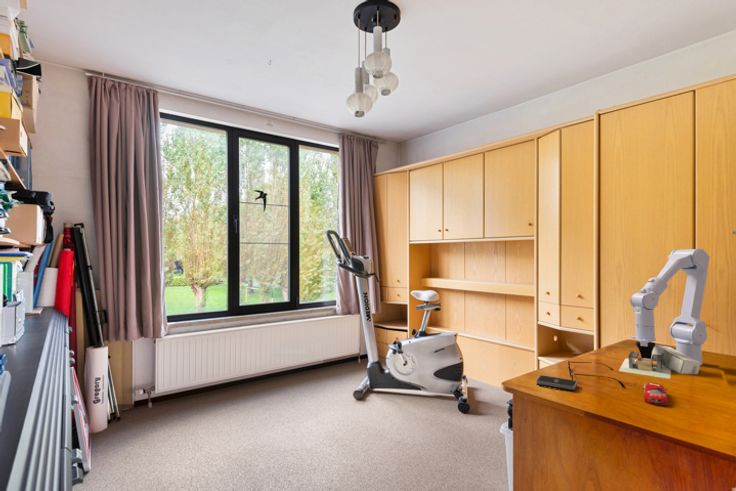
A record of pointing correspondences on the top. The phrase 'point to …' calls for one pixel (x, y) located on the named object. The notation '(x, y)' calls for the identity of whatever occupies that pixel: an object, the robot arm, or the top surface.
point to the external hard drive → (557, 383)
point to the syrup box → (677, 360)
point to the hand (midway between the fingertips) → (646, 362)
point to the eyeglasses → (590, 375)
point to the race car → (655, 394)
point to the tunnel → (654, 358)
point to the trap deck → (664, 373)
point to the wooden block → (645, 364)
